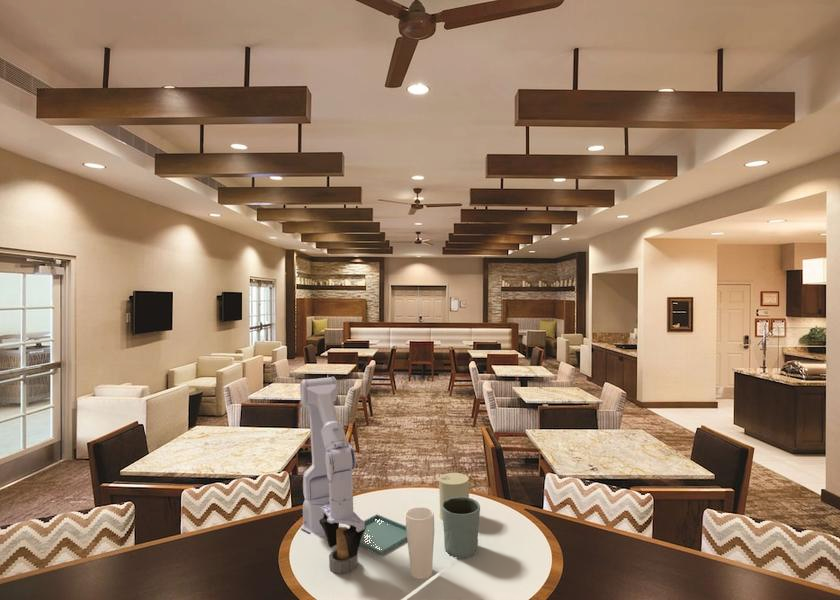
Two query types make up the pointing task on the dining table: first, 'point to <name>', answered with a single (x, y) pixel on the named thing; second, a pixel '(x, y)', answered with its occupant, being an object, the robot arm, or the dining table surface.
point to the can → (452, 487)
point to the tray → (383, 534)
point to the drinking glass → (420, 541)
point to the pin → (341, 544)
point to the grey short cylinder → (342, 564)
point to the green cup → (461, 526)
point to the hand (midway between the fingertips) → (343, 550)
